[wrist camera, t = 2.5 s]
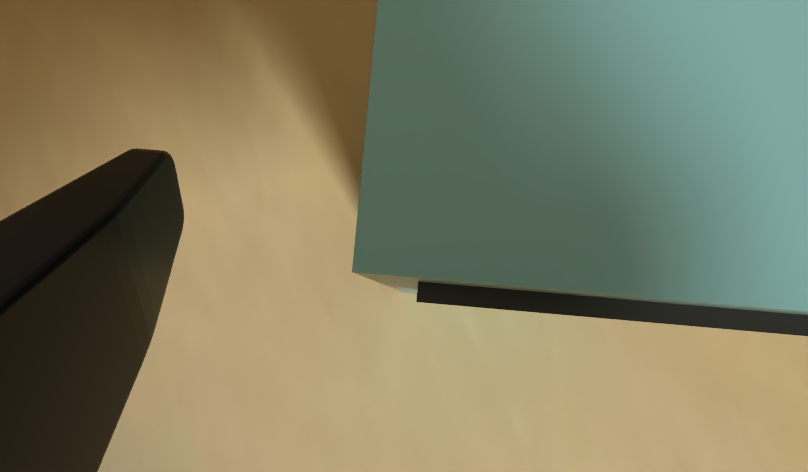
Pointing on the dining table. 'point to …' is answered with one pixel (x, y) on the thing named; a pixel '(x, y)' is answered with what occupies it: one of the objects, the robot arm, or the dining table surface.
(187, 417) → the dining table surface
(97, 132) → the dining table surface
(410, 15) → the finger block
